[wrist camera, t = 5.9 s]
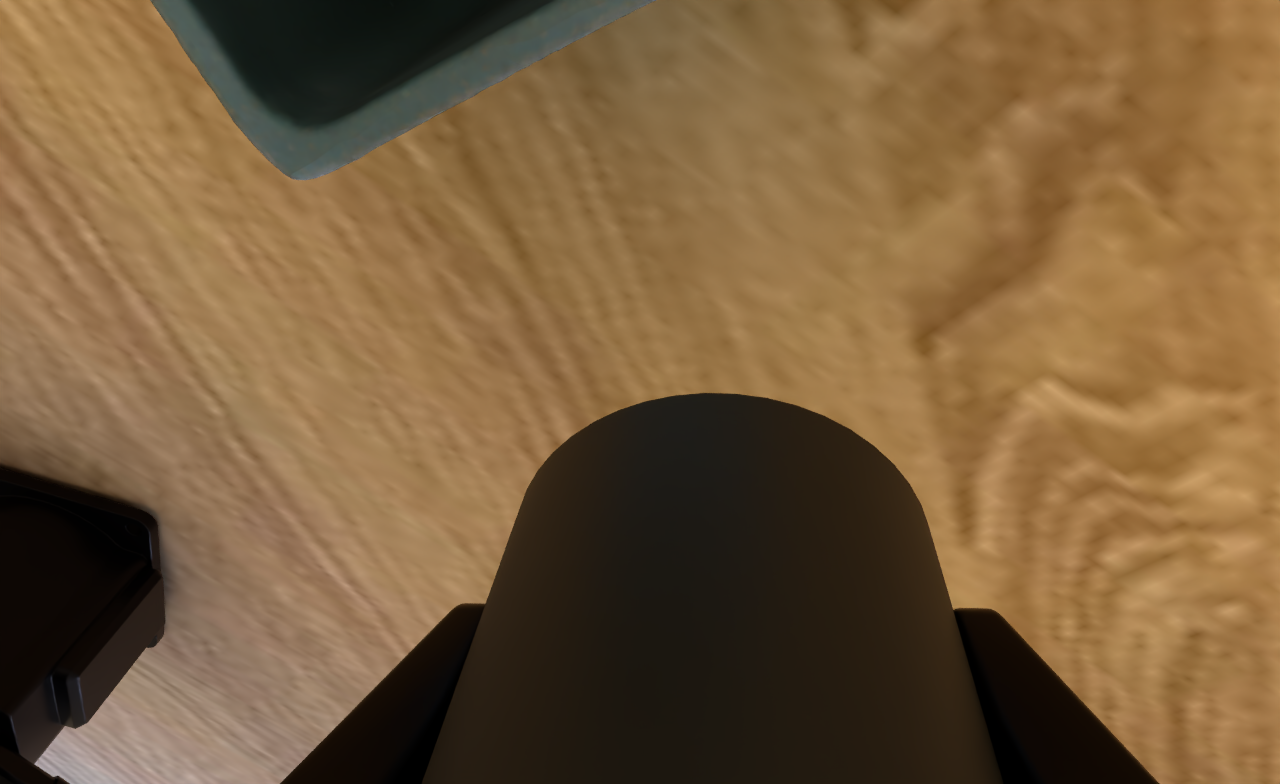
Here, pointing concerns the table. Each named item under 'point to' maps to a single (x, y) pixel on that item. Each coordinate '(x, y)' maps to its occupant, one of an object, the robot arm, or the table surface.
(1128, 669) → the table surface
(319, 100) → the flower pot
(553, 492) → the sushi
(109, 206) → the table surface
